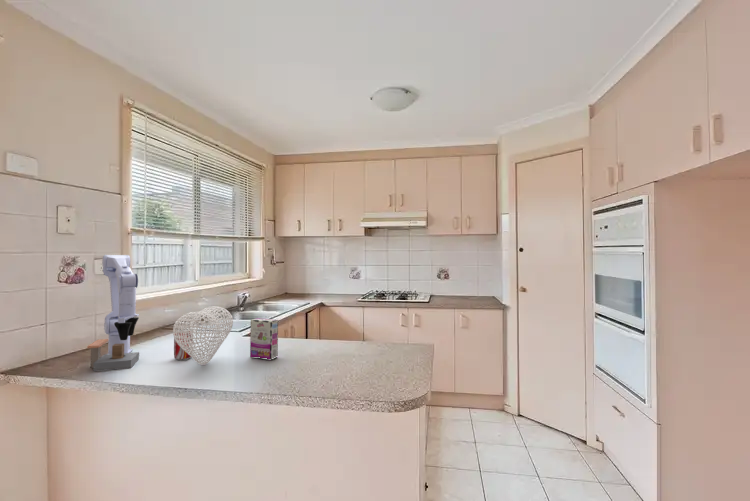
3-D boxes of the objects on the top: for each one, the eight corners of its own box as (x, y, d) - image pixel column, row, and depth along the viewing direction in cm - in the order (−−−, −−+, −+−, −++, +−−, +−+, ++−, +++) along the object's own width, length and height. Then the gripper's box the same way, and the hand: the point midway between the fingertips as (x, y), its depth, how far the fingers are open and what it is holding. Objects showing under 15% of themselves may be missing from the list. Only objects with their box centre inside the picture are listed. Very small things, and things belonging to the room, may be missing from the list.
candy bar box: (278, 357, 158) (278, 319, 158) (270, 361, 154) (271, 321, 154) (257, 354, 163) (257, 317, 163) (249, 357, 158) (250, 319, 158)
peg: (114, 364, 147) (114, 343, 147) (123, 363, 148) (124, 343, 148) (111, 366, 144) (112, 345, 144) (121, 365, 145) (121, 345, 145)
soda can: (184, 361, 151) (185, 332, 151) (169, 360, 153) (170, 331, 153) (196, 356, 158) (196, 328, 158) (181, 355, 160) (182, 327, 160)
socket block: (97, 362, 148) (97, 339, 148) (138, 359, 153) (139, 336, 153) (85, 371, 137) (86, 346, 137) (130, 368, 142) (131, 343, 142)
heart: (203, 354, 162) (204, 303, 162) (238, 355, 161) (239, 304, 161) (163, 375, 134) (164, 314, 134) (204, 377, 133) (205, 315, 133)
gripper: (133, 306, 143) (133, 341, 143) (143, 301, 157) (142, 333, 157) (112, 306, 141) (111, 342, 141) (124, 301, 155) (123, 334, 155)
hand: (126, 337), depth 149 cm, fingers open, 7 cm apart
